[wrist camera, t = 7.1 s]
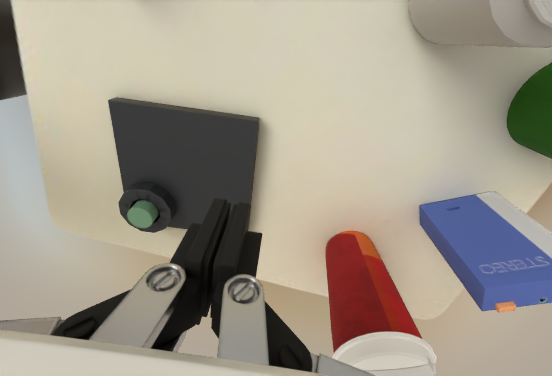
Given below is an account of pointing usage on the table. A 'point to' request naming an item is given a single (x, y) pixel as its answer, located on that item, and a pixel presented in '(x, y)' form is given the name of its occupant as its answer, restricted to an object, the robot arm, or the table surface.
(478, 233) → the walkman
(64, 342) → the robot arm
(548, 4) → the can
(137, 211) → the button
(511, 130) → the candle
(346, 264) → the coffee cup
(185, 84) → the table surface
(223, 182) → the dark grey flat block
